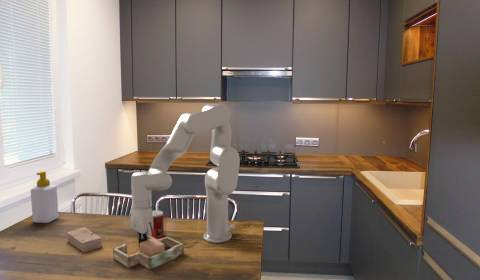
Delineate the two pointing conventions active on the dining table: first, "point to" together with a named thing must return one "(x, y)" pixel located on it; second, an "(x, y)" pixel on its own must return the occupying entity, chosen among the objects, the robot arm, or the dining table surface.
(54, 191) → the soap bottle
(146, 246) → the block
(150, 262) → the channel
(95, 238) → the brick
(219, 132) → the robot arm
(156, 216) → the canned food
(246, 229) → the dining table surface
